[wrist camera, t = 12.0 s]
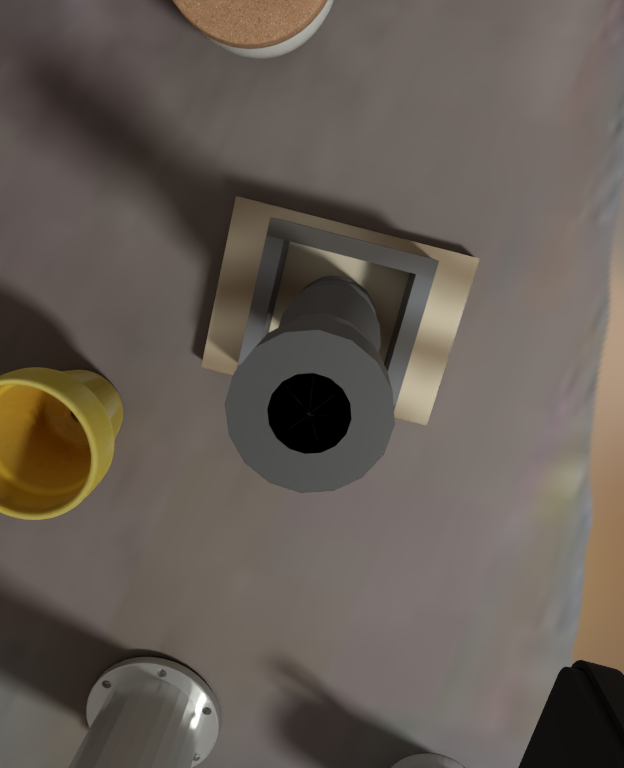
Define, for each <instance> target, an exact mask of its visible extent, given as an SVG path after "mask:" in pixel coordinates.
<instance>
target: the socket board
mask: <svg viewBox="0 0 624 768" xmlns="http://www.w3.org/2000/svg"><path fill="white" fill-rule="evenodd" d="M479 260H480V259H479V258H475V257H471V256H468V255H464V254H460V253H456V252H452V251H448V250H444V249H440V248H437V247H433V246H429V245H425V244H421V243H417V242H413V241H409V240H405V239H402V238H398V237H394V236H390V235H386V234H382V233H378V232H374V231H371V230H367V229H363V228H359V227H355V226H351V225H347V224H343V223H339V222H336V221H332V220H328V219H324V218H320V217H316V216H312V215H308V214H304V213H301V212H297V211H293V210H289V209H285V208H281V207H277V206H273V205H270V204H266V203H262V202H258V201H254V200H250V199H246V198H242V197H238V196H236V199H235V204H234V208H233V213H232V218H231V223H230V228H229V233H228V238H227V243H226V248H225V253H224V258H223V262H222V267H221V272H220V277H219V282H218V287H217V292H216V297H215V302H214V307H213V312H212V316H211V321H210V326H209V331H208V336H207V341H206V346H205V351H204V356H203V361H202V366H201V367H203V368H207V369H211V370H215V371H219V372H223V373H226V374H230V375H233V374H234V372H235V371H236V370H237V368H238V367H239V366H240V365H241V364H242V362H243V361H244V360H245V359H246V357H247V356H248V355H249V354H250V353H251V351H252V350H253V349H254V348H255V347H256V346H257V344H258V343H259V342H260V341H261V340H262V339H263V338H264V337H265V336H266V335H267V334H268V333H269V332H271V331H273V330H275V329H277V328H278V327H279V324H280V321H281V317H282V314H283V312H284V311H285V310H286V309H287V307H288V306H289V305H290V304H291V303H292V301H293V300H294V299H295V298H296V297H297V296H298V295H299V294H300V293H301V292H302V290H303V289H304V288H305V287H306V286H307V285H308V284H310V283H312V282H314V281H316V280H318V279H320V278H322V277H328V276H342V277H345V278H348V279H351V280H355V281H356V282H357V283H358V284H359V285H360V286H362V287H363V288H364V289H365V290H366V291H367V292H368V294H369V296H370V298H371V300H372V302H373V304H374V306H375V309H376V316H377V320H378V322H379V324H380V338H381V346H380V349H379V352H378V354H379V356H380V357H381V359H382V361H383V363H384V365H385V367H386V369H387V371H388V375H389V379H390V383H391V387H392V391H393V405H394V417H396V418H399V419H403V420H407V421H411V422H415V423H419V424H423V425H426V426H427V423H428V420H429V417H430V414H431V411H432V407H433V404H434V401H435V398H436V395H437V392H438V388H439V385H440V382H441V379H442V376H443V373H444V370H445V366H446V363H447V360H448V357H449V354H450V351H451V348H452V344H453V341H454V338H455V335H456V332H457V329H458V326H459V322H460V319H461V316H462V313H463V310H464V307H465V304H466V300H467V297H468V294H469V291H470V288H471V285H472V282H473V278H474V275H475V272H476V269H477V266H478V263H479Z"/></svg>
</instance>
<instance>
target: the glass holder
mask: <svg viewBox="0 0 624 768" xmlns="http://www.w3.org/2000/svg"><path fill="white" fill-rule="evenodd" d="M391 768H464V767H463V766H462V765H461V764H460V763H458V762H457V761H455V760H453V759H451V758H449V757H446V756H443V755H439V754H431V753H422V754H415V755H411V756H408V757H405V758H403V759H402V760H400V761H398V762H397V763H395V764H394V765H393V766H392V767H391Z"/></svg>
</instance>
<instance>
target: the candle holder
mask: <svg viewBox="0 0 624 768" xmlns="http://www.w3.org/2000/svg"><path fill="white" fill-rule="evenodd" d="M380 346H381V338H380V324H379V322H378V320H377V316H376V309H375V306H374V304H373V302H372V300H371V298H370V296H369V294H368V292H367V291H366V290H365V289H364V288H363V287H362V286H360V285H359V284H358V283H357V282H356V281H355V280H351V279H348V278H345V277H342V276H328V277H322V278H320V279H318V280H316V281H314V282H312V283H310V284H308V285H307V286H306V287H305V288H304V289H303V290H302V292H301V293H300V294H299V295H298V296H297V297H296V298H295V299H294V300H293V301H292V303H291V304H290V305H289V306H288V307H287V309H286V310H285V311H284V312H283V314H282V317H281V321H280V324H279V327H278V328H277V329H275V330H273V331H271V332H269V333H268V334H267V335H266V336H265V337H264V338H263V339H262V340H261V341H260V342H259V343H258V344H257V346H256V347H255V348H254V349H253V350H252V351H251V353H250V354H249V355H248V356H247V357H246V359H245V360H244V361H243V362H242V364H241V365H240V366H239V367H238V368H237V370H236V371H235V372H234V374H233V377H232V381H231V384H230V388H229V391H228V395H227V398H226V402H225V408H226V416H227V424H228V432H229V436H230V438H231V440H232V441H233V443H234V445H235V447H236V448H237V450H238V452H239V454H240V455H241V457H242V459H243V461H244V462H245V463H246V464H247V465H248V466H249V467H251V468H252V469H253V470H254V471H256V472H257V473H258V474H259V475H261V476H262V477H263V478H264V479H266V480H267V481H268V482H269V483H272V484H275V485H278V486H281V487H284V488H287V489H291V490H294V491H297V492H300V493H305V492H323V491H334V490H336V489H338V488H340V487H343V486H345V485H347V484H349V483H351V482H354V481H356V480H358V479H360V478H362V477H363V476H364V475H365V474H366V473H367V472H368V471H369V470H370V469H371V467H372V466H373V465H374V464H375V463H376V462H377V461H378V460H379V459H380V458H381V457H382V456H383V455H384V452H385V450H386V447H387V444H388V441H389V439H390V436H391V433H392V430H393V428H394V425H395V422H394V405H393V391H392V387H391V383H390V379H389V375H388V371H387V369H386V367H385V365H384V363H383V361H382V359H381V357H380V356H379V354H378V352H379V349H380Z"/></svg>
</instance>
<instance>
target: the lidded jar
mask: <svg viewBox="0 0 624 768" xmlns="http://www.w3.org/2000/svg"><path fill="white" fill-rule="evenodd" d="M172 1H173V2H174V3H175V5H176V6H177V8H178V9H179V10H180V12H181V13H182V14H183V16H184V17H185V18H186V19H187V20H188V21H189V22H190V23H191V24H192V25H193V26H194V27H195V28H197V29H198V30H199V31H200V32H201V33H202V34H203V35H204V36H205V37H207V38H208V39H209V40H211V41H212V42H213V43H215V44H216V45H218V46H219V47H221V48H223V49H225V50H227V51H229V52H231V53H233V54H237V55H240V56H243V57H249V58H256V59H263V58H273V57H277V56H281V55H284V54H286V53H289V52H291V51H293V50H295V49H296V48H298V47H299V46H301V45H303V44H304V43H305V42H306V41H307V40H308V39H309V38H311V37H312V36H313V34H314V33H315V32H316V31H317V30H318V28H319V27H320V26H321V24H322V23H323V21H324V19H325V18H326V16H327V14H328V13H329V11H330V8H331V6H332V4H333V1H334V0H172Z"/></svg>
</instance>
